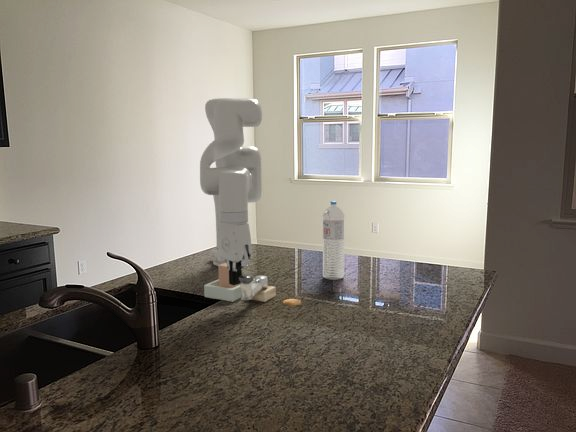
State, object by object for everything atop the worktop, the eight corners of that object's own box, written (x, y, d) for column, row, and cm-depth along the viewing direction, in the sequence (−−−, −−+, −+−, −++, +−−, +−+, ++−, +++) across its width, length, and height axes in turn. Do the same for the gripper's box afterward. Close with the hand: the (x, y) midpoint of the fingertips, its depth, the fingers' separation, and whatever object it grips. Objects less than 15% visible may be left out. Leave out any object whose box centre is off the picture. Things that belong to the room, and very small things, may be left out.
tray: (204, 296, 142) (204, 285, 141) (229, 285, 152) (228, 274, 152) (232, 302, 137) (232, 290, 137) (256, 290, 147) (255, 279, 147)
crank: (257, 285, 143) (256, 264, 142) (270, 286, 141) (269, 266, 140) (236, 299, 130) (235, 277, 129) (250, 301, 128) (249, 279, 128)
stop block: (219, 292, 143) (218, 265, 142) (231, 286, 148) (230, 260, 147) (230, 294, 141) (229, 266, 140) (242, 288, 146) (241, 262, 145)
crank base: (246, 299, 140) (246, 289, 139) (258, 293, 145) (258, 284, 144) (294, 307, 132) (294, 297, 132) (305, 301, 137) (305, 291, 137)
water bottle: (344, 280, 157) (345, 202, 153) (323, 280, 157) (323, 202, 153) (342, 274, 163) (343, 199, 159) (322, 274, 164) (322, 200, 160)
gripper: (205, 215, 133) (208, 280, 136) (240, 222, 122) (241, 293, 125) (228, 212, 138) (230, 275, 141) (262, 218, 127) (264, 286, 130)
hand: (235, 283), depth 133 cm, fingers closed
